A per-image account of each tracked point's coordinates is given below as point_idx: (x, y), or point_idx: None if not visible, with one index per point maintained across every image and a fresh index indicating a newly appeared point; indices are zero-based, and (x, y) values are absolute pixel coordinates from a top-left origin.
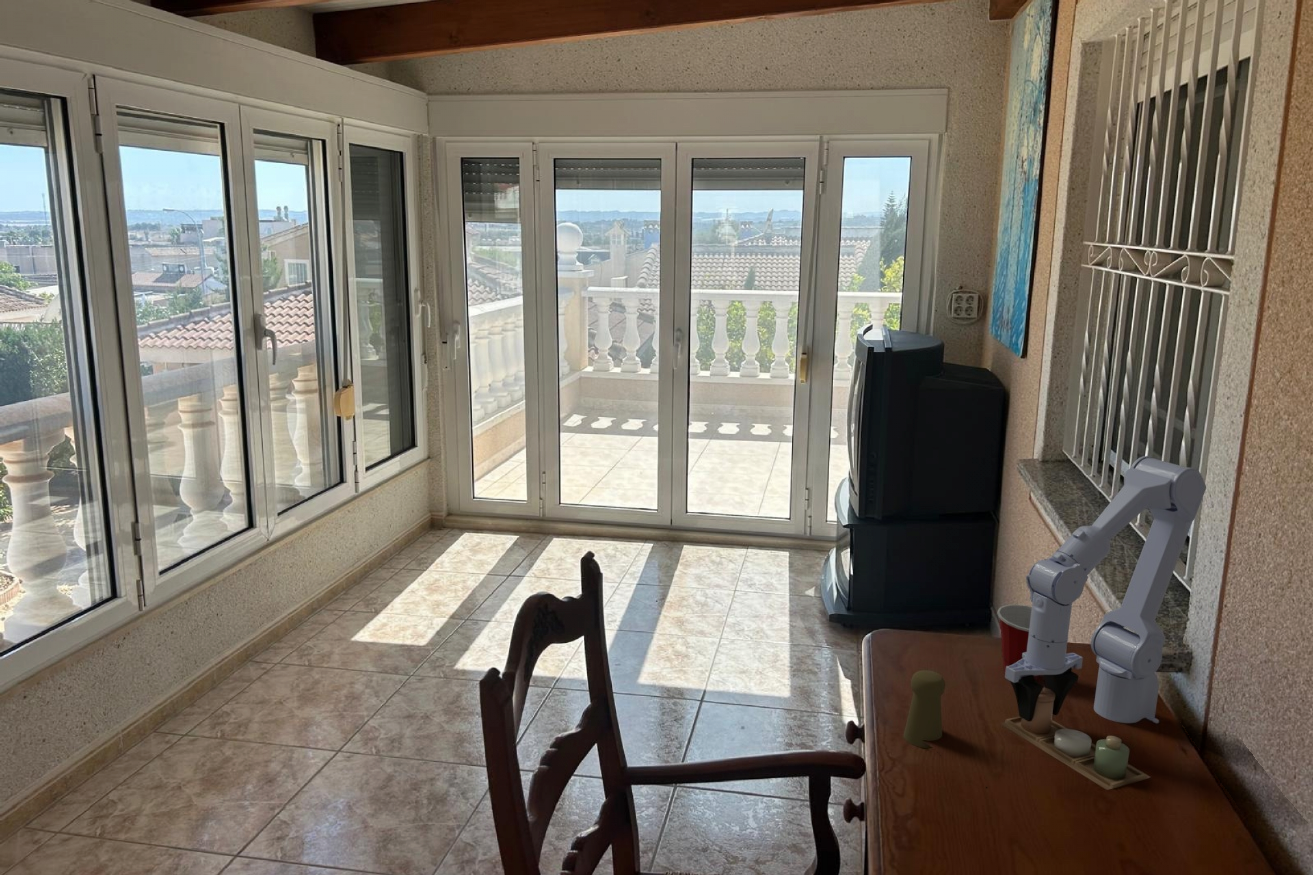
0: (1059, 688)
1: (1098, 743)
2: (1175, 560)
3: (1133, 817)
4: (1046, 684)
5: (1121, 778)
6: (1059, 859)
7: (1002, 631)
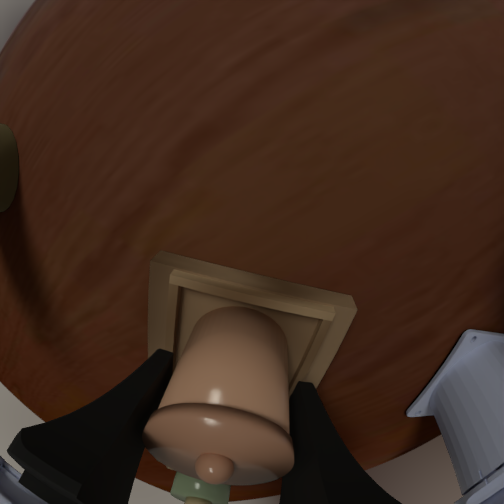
0: (287, 501)
1: (183, 491)
2: None
3: (156, 465)
4: (316, 465)
5: None
6: (42, 417)
7: None
